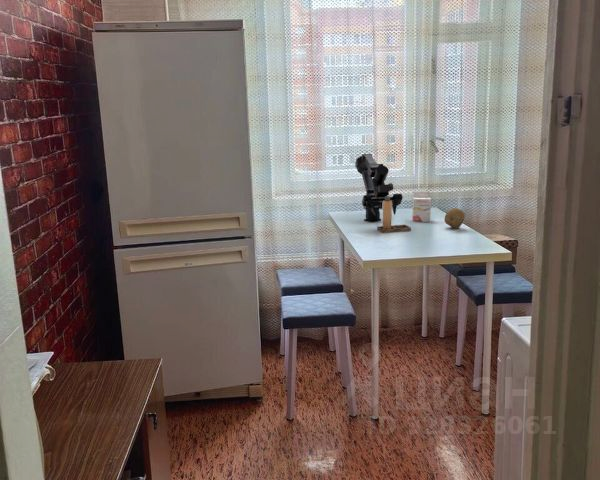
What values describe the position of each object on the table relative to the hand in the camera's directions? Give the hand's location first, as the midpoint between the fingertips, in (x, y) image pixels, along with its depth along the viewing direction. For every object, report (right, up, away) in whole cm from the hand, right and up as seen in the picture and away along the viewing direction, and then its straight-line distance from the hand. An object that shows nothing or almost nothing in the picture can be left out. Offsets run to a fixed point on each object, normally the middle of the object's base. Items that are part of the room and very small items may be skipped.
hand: (385, 214), depth 292 cm
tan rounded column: (+1, -7, -1) cm, 8 cm away
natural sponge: (+33, -7, +2) cm, 33 cm away
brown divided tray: (+4, -8, 0) cm, 9 cm away
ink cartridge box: (+21, -3, +21) cm, 30 cm away
